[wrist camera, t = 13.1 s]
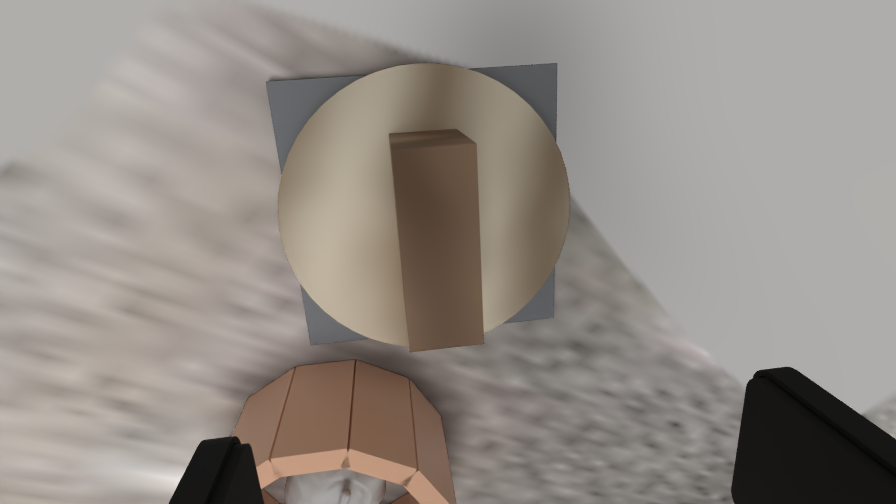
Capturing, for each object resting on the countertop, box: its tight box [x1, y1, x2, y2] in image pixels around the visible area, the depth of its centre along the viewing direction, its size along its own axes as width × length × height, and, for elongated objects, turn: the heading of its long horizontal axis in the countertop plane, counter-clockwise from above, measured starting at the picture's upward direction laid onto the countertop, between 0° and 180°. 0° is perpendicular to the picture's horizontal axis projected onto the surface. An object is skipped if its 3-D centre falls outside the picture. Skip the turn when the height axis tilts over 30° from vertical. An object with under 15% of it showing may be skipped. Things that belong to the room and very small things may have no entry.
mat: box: [266, 63, 557, 345], centre depth 25 cm, size 13×13×1 cm
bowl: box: [231, 360, 456, 504], centre depth 26 cm, size 12×12×7 cm
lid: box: [278, 63, 570, 352], centre depth 22 cm, size 14×14×6 cm
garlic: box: [285, 468, 386, 504], centre depth 27 cm, size 6×5×5 cm
